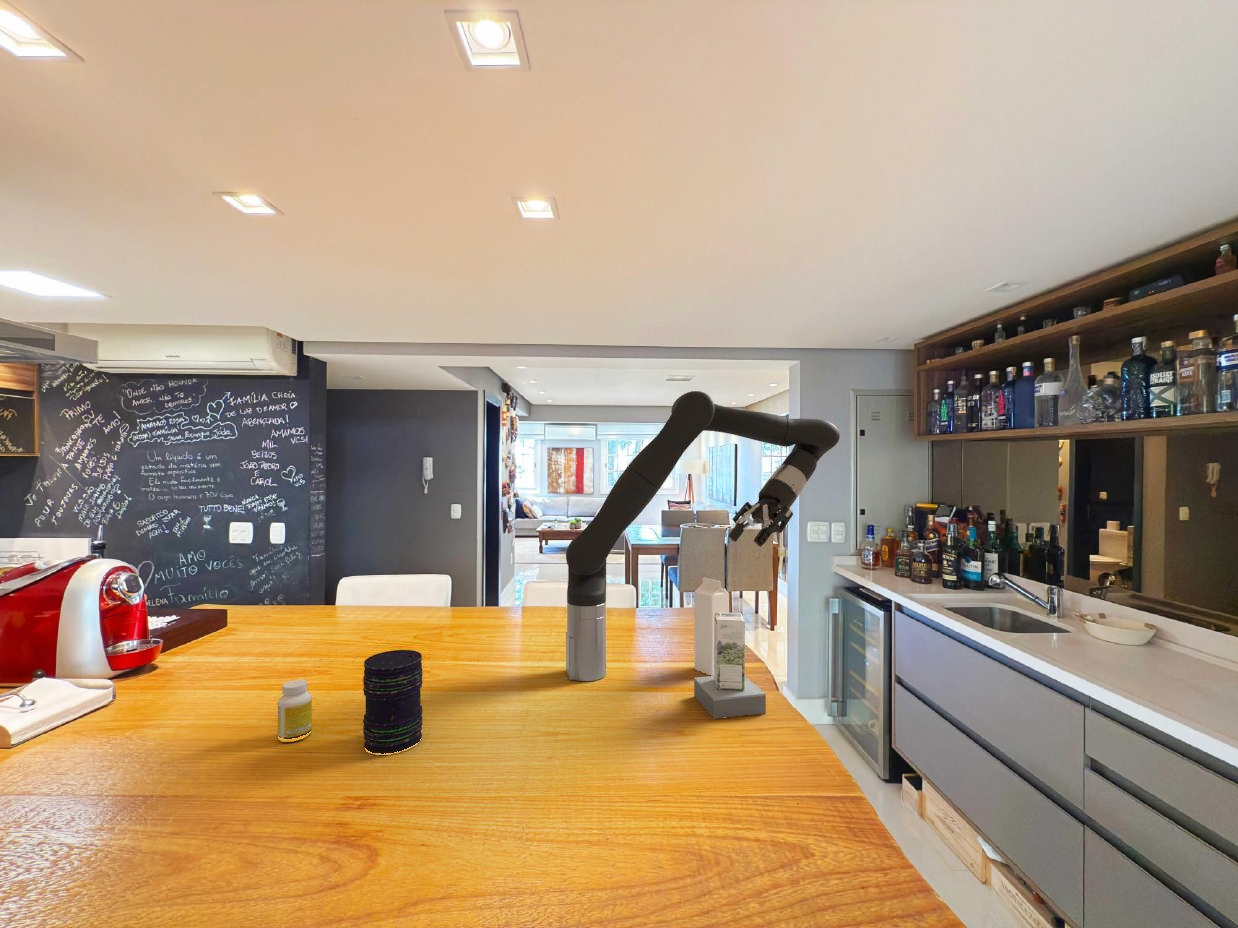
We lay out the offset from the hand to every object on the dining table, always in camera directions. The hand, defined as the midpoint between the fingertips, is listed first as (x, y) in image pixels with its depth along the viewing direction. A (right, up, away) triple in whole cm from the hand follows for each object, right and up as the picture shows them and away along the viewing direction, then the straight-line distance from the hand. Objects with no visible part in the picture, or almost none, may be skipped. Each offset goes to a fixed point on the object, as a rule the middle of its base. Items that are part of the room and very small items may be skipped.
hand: (744, 541), depth 123 cm
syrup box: (-5, -29, -8) cm, 30 cm away
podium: (-5, -33, -8) cm, 34 cm away
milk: (-5, -33, +11) cm, 35 cm away
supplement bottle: (-87, -33, -21) cm, 96 cm away
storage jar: (-68, -33, -23) cm, 79 cm away
